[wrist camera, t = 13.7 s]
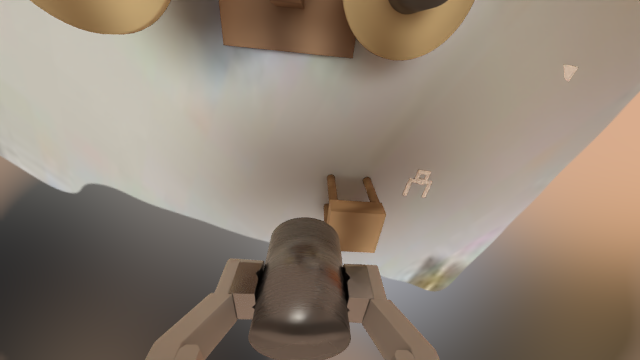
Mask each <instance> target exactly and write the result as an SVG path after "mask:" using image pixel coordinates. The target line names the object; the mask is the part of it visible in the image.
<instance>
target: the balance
mask: <svg viewBox="0 0 640 360" xmlns="http://www.w3.org/2000/svg"><path fill="white" fill-rule="evenodd" d="M30 1H32V2H33V3H34V4H35V5H37V6H38V7H40V8H41V9H43V10H44V11H46V12H47V13H49V14H50V15H52V16H54V17H56V18H57V19H59V20H61V21H63V22H65V23H67V24H69V25H72V26H74V27H77V28H79V29H83V30H86V31H89V32H94V33H100V34H130V33H135V32H138V31H141V30H143V29H145V28H147V27H149V26H151V25H152V24H153V23H154V22H156V21H157V20H158V19H159V18H160V17H161V15H162V14H163V13H164V12H165V10H166V9H167V7H168V5H169V3H170V1H171V0H30ZM473 2H474V0H219V7H220V16H221V25H222V34H223V43H224V45H229V46H238V47H248V48H258V49H268V50H277V51H287V52H297V53H306V54H316V55H326V56H335V57H345V58H353V52H354V45H355V39H356V38H357V40H358V41H359V42H360V43H361V44H362V45H363V46H364V47H365V48H366V49H367V50H369V51H370V52H371V53H373V54H375V55H377V56H380V57H382V58H386V59H390V60H409V59H413V58H417V57H420V56H422V55H425V54H427V53H429V52H431V51H432V50H434V49H436V48H437V47H438V46H440V45H441V44H442V43H443V42H445V41H446V40H447V39H448V38H449V37H450V36H451V35H452V34H453V33H454V32H455V31H456V29H457V28H458V27H459V26H460V24H461V23H462V22H463V20H464V19H465V17H466V15H467V14H468V12H469V10H470V8H471V6H472V4H473Z"/></svg>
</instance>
